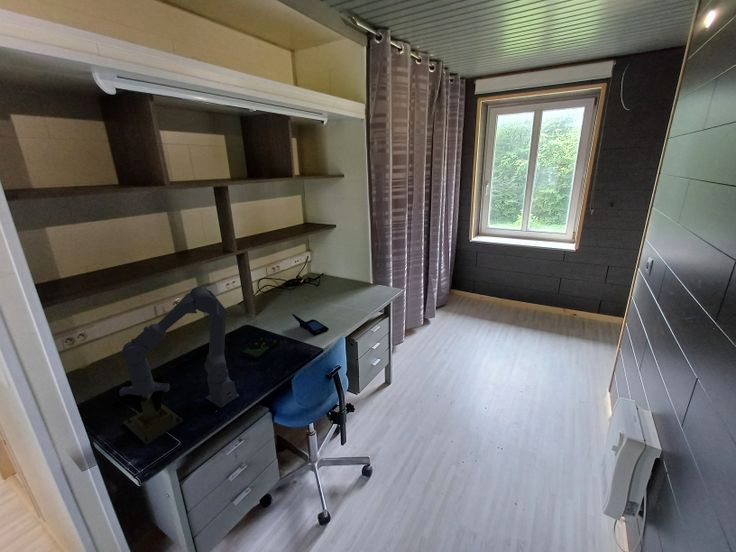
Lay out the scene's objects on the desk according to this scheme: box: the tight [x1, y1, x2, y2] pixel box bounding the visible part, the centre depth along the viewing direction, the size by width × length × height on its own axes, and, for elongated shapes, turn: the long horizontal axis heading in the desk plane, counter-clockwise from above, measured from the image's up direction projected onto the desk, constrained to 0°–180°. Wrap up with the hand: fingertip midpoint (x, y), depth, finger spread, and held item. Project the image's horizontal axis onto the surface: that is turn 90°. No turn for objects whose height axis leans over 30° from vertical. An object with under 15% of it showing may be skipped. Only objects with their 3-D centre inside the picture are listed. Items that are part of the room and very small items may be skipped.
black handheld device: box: [292, 313, 330, 337], centre depth 175 cm, size 16×13×9 cm
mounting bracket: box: [122, 402, 184, 446], centre depth 114 cm, size 16×12×4 cm
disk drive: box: [241, 336, 280, 361], centre depth 158 cm, size 10×3×15 cm
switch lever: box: [140, 395, 160, 420], centre depth 112 cm, size 5×5×7 cm
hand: (150, 409), depth 112 cm, fingers closed on switch lever, 5 cm apart
